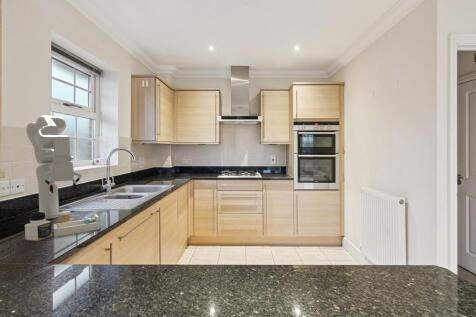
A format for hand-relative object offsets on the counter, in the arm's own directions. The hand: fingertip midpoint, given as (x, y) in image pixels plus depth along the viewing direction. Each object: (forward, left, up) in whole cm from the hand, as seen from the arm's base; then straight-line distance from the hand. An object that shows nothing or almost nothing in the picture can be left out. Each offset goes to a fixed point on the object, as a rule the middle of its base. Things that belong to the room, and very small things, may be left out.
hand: (63, 191), depth 144 cm
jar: (0, 0, -18) cm, 18 cm away
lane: (+12, +4, -18) cm, 22 cm away
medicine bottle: (+15, -11, -18) cm, 26 cm away
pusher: (+12, +11, -17) cm, 23 cm away
